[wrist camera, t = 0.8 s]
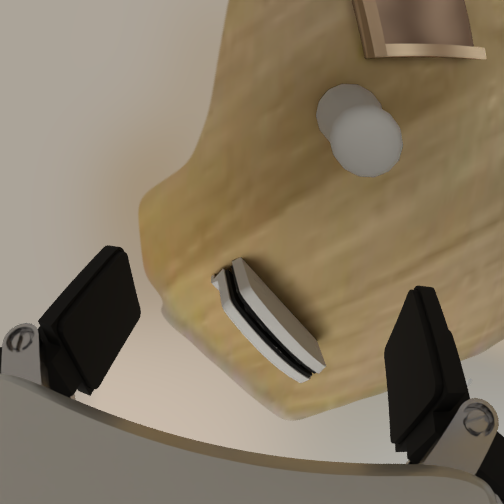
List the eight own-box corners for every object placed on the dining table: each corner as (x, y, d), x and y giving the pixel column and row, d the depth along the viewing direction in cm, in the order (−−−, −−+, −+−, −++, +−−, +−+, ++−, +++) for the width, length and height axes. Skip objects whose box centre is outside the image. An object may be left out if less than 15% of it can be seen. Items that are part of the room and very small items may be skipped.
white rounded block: (209, 274, 40) (206, 317, 30) (238, 250, 39) (245, 288, 30) (288, 353, 45) (302, 402, 36) (314, 335, 44) (335, 381, 35)
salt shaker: (378, 84, 25) (423, 99, 14) (377, 143, 28) (415, 196, 17) (314, 81, 26) (316, 91, 15) (316, 141, 29) (317, 192, 18)
